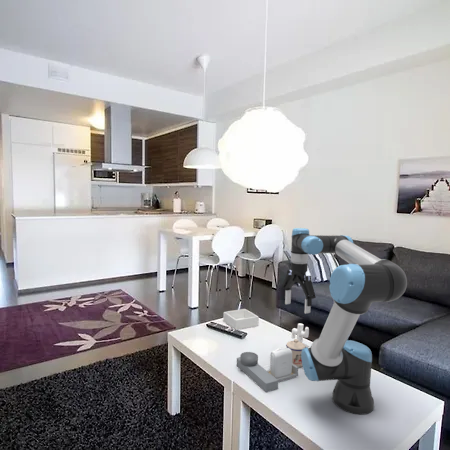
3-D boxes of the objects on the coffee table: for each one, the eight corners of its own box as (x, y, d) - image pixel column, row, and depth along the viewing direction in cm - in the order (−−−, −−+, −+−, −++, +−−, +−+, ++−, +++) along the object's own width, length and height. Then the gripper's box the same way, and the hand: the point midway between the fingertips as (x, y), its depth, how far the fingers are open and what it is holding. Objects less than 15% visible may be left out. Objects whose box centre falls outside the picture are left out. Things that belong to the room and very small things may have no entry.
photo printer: (274, 380, 143) (275, 352, 142) (268, 375, 146) (269, 348, 145) (293, 375, 147) (294, 348, 146) (287, 370, 151) (288, 344, 150)
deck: (304, 380, 144) (305, 366, 144) (263, 392, 134) (264, 377, 134) (271, 356, 165) (272, 343, 165) (234, 365, 155) (235, 352, 155)
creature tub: (258, 326, 204) (258, 316, 204) (235, 330, 197) (236, 320, 196) (244, 317, 218) (245, 308, 218) (223, 321, 211) (223, 312, 211)
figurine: (295, 347, 177) (296, 319, 176) (311, 353, 170) (312, 324, 169) (287, 351, 172) (288, 322, 171) (302, 357, 165) (304, 328, 164)
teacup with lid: (294, 369, 153) (295, 345, 152) (281, 361, 161) (282, 337, 160) (313, 363, 159) (314, 340, 158) (299, 355, 167) (300, 333, 166)
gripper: (325, 267, 141) (323, 315, 143) (288, 257, 163) (286, 299, 165) (312, 268, 137) (309, 318, 139) (275, 258, 159) (274, 301, 161)
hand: (297, 308), depth 152 cm, fingers open, 13 cm apart
